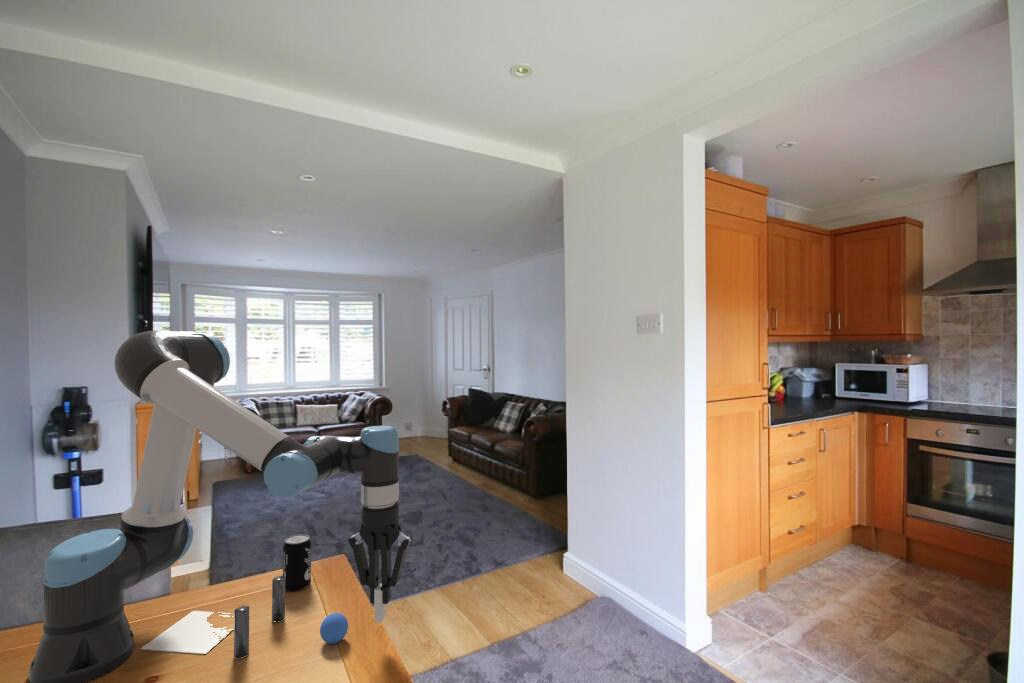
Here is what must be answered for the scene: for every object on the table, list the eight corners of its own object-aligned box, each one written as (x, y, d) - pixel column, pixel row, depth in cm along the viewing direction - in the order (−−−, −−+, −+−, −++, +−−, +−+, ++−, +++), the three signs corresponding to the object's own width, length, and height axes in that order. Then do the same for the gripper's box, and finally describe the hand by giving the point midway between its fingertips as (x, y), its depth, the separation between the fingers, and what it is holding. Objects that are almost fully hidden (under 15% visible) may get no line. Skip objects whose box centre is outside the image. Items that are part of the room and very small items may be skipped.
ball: (314, 648, 98) (315, 621, 98) (327, 632, 104) (327, 606, 104) (340, 650, 98) (341, 623, 98) (352, 634, 103) (352, 608, 103)
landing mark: (140, 649, 98) (140, 648, 98) (193, 611, 112) (193, 610, 112) (205, 654, 96) (205, 653, 96) (250, 615, 110) (250, 614, 110)
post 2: (269, 622, 108) (269, 581, 108) (276, 615, 110) (276, 575, 110) (280, 622, 107) (281, 581, 107) (287, 616, 110) (287, 576, 110)
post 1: (230, 658, 95) (231, 612, 95) (239, 650, 98) (240, 605, 98) (243, 659, 95) (243, 613, 95) (251, 651, 97) (252, 606, 97)
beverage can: (300, 593, 120) (300, 544, 120) (276, 590, 121) (277, 542, 121) (316, 581, 126) (316, 534, 126) (293, 578, 128) (294, 532, 128)
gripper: (416, 497, 103) (416, 610, 103) (357, 496, 104) (357, 607, 104) (405, 509, 96) (405, 630, 95) (341, 507, 97) (341, 627, 97)
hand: (380, 618), depth 100 cm, fingers closed
